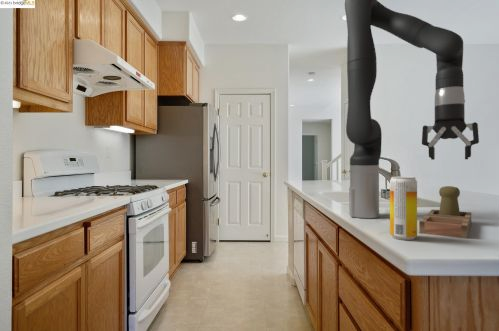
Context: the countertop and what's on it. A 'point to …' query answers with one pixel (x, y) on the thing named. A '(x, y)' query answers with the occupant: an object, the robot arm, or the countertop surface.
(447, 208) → the cork
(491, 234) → the countertop surface
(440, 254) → the countertop surface
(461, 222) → the rail
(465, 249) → the countertop surface
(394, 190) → the beer can
